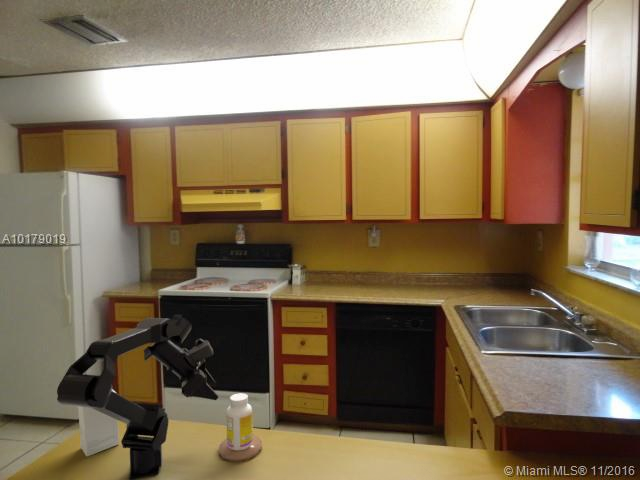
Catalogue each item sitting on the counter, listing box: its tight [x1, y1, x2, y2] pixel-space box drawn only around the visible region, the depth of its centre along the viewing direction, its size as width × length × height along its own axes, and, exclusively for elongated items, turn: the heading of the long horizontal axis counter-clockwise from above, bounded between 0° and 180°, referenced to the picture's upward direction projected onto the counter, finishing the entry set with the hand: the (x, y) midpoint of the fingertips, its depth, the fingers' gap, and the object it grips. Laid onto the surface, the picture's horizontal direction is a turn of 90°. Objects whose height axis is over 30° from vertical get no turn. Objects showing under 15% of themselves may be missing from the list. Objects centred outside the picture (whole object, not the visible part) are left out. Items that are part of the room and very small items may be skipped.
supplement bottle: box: [225, 392, 254, 451], centre depth 104 cm, size 7×7×13 cm
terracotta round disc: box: [218, 434, 263, 462], centre depth 104 cm, size 11×11×1 cm
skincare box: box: [77, 388, 120, 457], centre depth 106 cm, size 8×6×15 cm
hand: (216, 391), depth 108 cm, fingers open, 9 cm apart
